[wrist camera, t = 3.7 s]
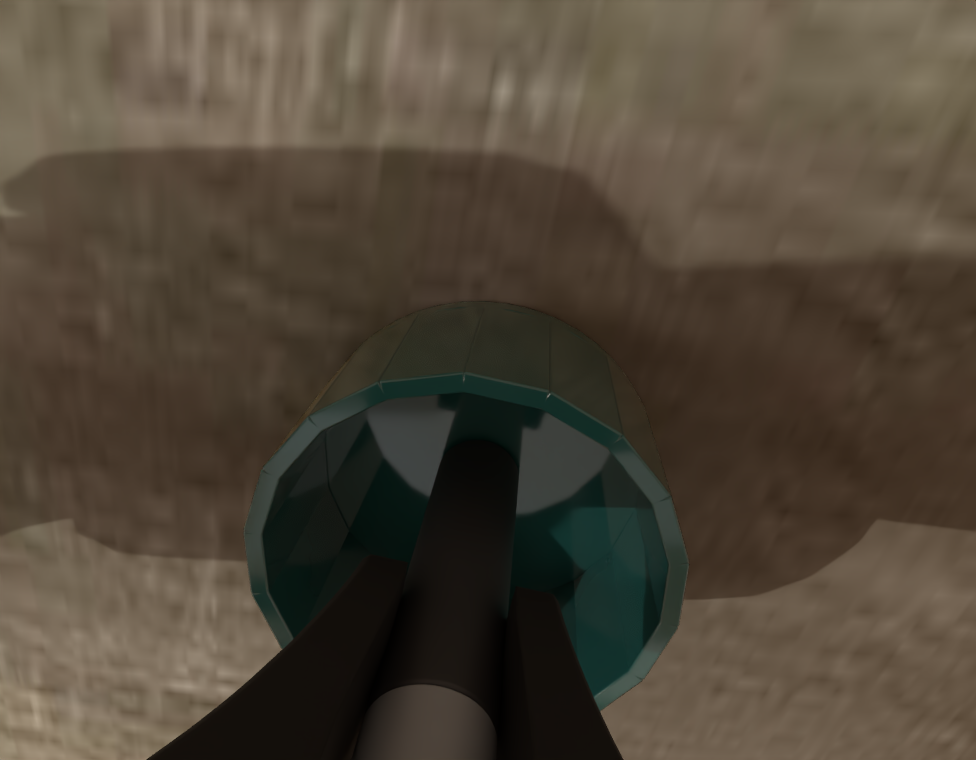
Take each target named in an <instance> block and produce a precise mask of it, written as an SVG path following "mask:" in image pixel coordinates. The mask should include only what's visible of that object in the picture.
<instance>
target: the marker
mask: <svg viewBox="0 0 976 760" xmlns="http://www.w3.org/2000/svg"><path fill="white" fill-rule="evenodd" d="M518 483H519V473H518V468H517V466H516V463H515V462H514V460H513V458H512V457H511V456H510V455H509V454H508V453H507V452H506V451H505V450H504V449H503V448H501V447H500V446H498V445H496V444H494V443H491V442H488V441H483V440H471V441H466V442H462V443H460V444H458V445H456V446H454V447H452V448H451V449H450V450H449V451H448V452H447V453H446V454H445V455H444V457H443V458H442V460H441V462H440V465H439V468H438V471H437V475H436V478H435V481H434V485H433V488H432V491H431V495H430V498H429V501H428V505H427V508H426V511H425V515H424V518H423V521H422V525H421V528H420V531H419V535H418V538H417V542H416V545H415V548H414V552H413V555H412V558H411V562H410V565H409V568H408V572H407V575H406V578H405V582H404V588H403V593H402V598H401V601H400V605H399V608H398V612H397V615H396V618H395V622H394V625H393V629H392V632H391V635H390V639H389V642H388V645H387V648H386V651H385V653H384V656H383V659H382V662H381V664H380V667H379V670H378V673H377V676H376V679H375V682H374V685H373V689H372V692H371V695H370V699H369V702H368V705H367V709H366V712H365V716H364V719H363V722H362V725H361V729H360V732H359V735H358V739H357V742H356V745H355V749H354V752H353V755H352V759H351V760H496V754H497V740H498V730H499V717H500V705H501V692H502V668H503V656H504V643H505V631H506V620H507V617H508V606H509V594H510V581H511V569H512V557H513V544H514V532H515V520H516V507H517V495H518Z"/></svg>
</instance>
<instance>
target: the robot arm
mask: <svg viewBox="0 0 976 760" xmlns="http://www.w3.org/2000/svg"><path fill="white" fill-rule="evenodd" d="M407 567H408V562H404V561H400V560H395V559H391V558H386V557H382V556H377V555H372V554H371V555H369V556H367V557H365V558H363V559H362V561H361V562H360V564H359V565H358V567H357V568H356V569H355V571H354V572H353V573H352V575H351V576H350V577H349V579H348V580H347V581H346V582H345V583H344V585H343V586H342V587H341V588H340V589H339V591H338V592H337V593H336V594H335V595H334V596H333V598H332V599H331V600H330V601H329V602H328V603H327V604H326V605H325V607H324V608H323V609H322V610H321V611H320V612H319V613H318V614H317V615H316V616H315V617H314V618H313V619H312V620H311V621H310V622H309V623H308V624H307V625H306V627H305V628H304V629H303V630H302V631H301V632H300V633H299V634H298V635H297V636H296V637H295V638H294V639H293V640H292V641H291V642H290V643H289V644H288V645H287V646H286V647H285V648H284V649H283V650H281V651H280V652H279V653H278V654H277V655H276V656H275V657H274V658H273V659H272V660H271V661H269V662H268V663H267V664H266V665H265V666H264V667H263V668H262V669H261V670H260V671H259V672H258V673H256V674H255V675H254V676H253V677H252V678H251V679H250V680H249V681H248V682H246V683H245V684H244V685H243V686H242V687H241V688H239V689H238V690H237V691H236V692H235V693H234V694H232V695H231V696H230V697H229V698H228V699H226V700H225V701H224V702H223V703H221V704H220V705H219V706H218V707H217V708H215V709H214V710H213V711H211V712H210V713H209V714H208V715H206V716H205V717H204V718H202V719H201V720H200V721H199V722H197V723H196V724H195V725H194V726H192V727H191V728H190V729H188V730H187V731H186V732H184V733H183V734H181V735H180V736H179V737H177V738H176V739H174V740H173V741H172V742H170V743H169V744H167V745H166V746H165V747H163V748H162V749H160V750H159V751H158V752H156V753H155V754H154V755H152V756H151V757H149V758H148V759H147V760H351V759H352V755H353V752H354V749H355V745H356V742H357V739H358V735H359V732H360V729H361V725H362V722H363V719H364V716H365V712H366V709H367V705H368V702H369V699H370V695H371V692H372V689H373V685H374V682H375V679H376V676H377V673H378V670H379V667H380V664H381V662H382V659H383V656H384V653H385V651H386V648H387V645H388V642H389V639H390V635H391V632H392V629H393V625H394V622H395V618H396V615H397V612H398V608H399V605H400V601H401V598H402V593H403V588H404V582H405V577H406V572H407ZM496 760H623V758H622V756H621V754H620V752H619V750H618V748H617V746H616V744H615V742H614V740H613V738H612V736H611V734H610V732H609V730H608V728H607V726H606V724H605V722H604V719H603V717H602V715H601V713H600V711H599V708H598V706H597V704H596V701H595V699H594V697H593V695H592V692H591V690H590V688H589V685H588V683H587V681H586V678H585V676H584V673H583V671H582V669H581V666H580V664H579V661H578V658H577V656H576V653H575V650H574V648H573V645H572V642H571V640H570V637H569V634H568V631H567V628H566V625H565V622H564V619H563V616H562V613H561V609H560V606H559V602H558V600H557V599H556V597H555V596H554V594H550V593H545V592H541V591H536V590H532V589H527V588H523V587H518V586H516V587H515V591H514V595H513V598H512V602H511V606H510V609H509V613H508V617H507V620H506V631H505V643H504V656H503V668H502V692H501V705H500V717H499V730H498V740H497V754H496Z"/></svg>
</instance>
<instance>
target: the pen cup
mask: <svg viewBox="0 0 976 760" xmlns="http://www.w3.org/2000/svg"><path fill="white" fill-rule="evenodd" d="M471 440H483V441H488V442H491V443H494V444H496V445H498V446H500V447H501V448H503V449H504V450H505V451H506V452H507V453H508V454H509V455H510V456H511V457H512V458H513V460H514V462H515V463H516V466H517V468H518V473H519V483H518V495H517V507H516V520H515V532H514V544H513V557H512V569H511V581H510V594H509V606H508V613H509V609H510V606H511V602H512V598H513V595H514V591H515V587H516V586H518V587H523V588H527V589H532V590H536V591H541V592H545V593H550V594H554V596H555V597H556V599H557V600H558V602H559V606H560V609H561V613H562V616H563V619H564V622H565V625H566V628H567V631H568V634H569V637H570V640H571V642H572V645H573V648H574V650H575V653H576V656H577V658H578V661H579V664H580V666H581V669H582V671H583V673H584V676H585V678H586V681H587V683H588V685H589V688H590V690H591V692H592V695H593V697H594V699H595V701H596V704H597V706H598V708H599V711H601V710H603V709H604V708H605V707H607V706H608V705H609V704H611V703H612V702H614V701H615V700H616V699H618V698H619V697H621V696H622V695H623V694H625V693H626V692H628V691H629V690H630V689H632V688H633V687H635V686H636V685H637V684H639V683H640V682H642V680H643V679H645V677H646V676H647V674H648V673H649V671H650V670H651V668H652V667H653V665H654V664H655V662H656V661H657V659H658V658H659V656H660V655H661V653H662V652H663V650H664V649H665V647H666V646H667V644H668V642H669V641H670V639H671V638H672V636H673V635H674V633H675V632H676V630H677V629H678V626H679V623H680V617H681V611H682V605H683V599H684V593H685V587H686V582H687V576H688V570H689V558H688V554H687V551H686V547H685V543H684V540H683V536H682V532H681V529H680V525H679V521H678V518H677V514H676V510H675V507H674V503H673V499H672V496H671V493H670V489H669V486H668V483H667V479H666V476H665V473H664V470H663V466H662V463H661V460H660V456H659V453H658V450H657V447H656V443H655V440H654V437H653V433H652V430H651V427H650V424H649V420H648V417H647V414H646V410H645V407H644V405H643V403H642V401H641V400H640V398H639V396H638V394H637V393H636V391H635V389H634V388H633V386H632V384H631V382H630V381H629V379H628V377H627V376H626V375H625V373H624V372H623V371H622V370H621V368H620V367H619V366H618V365H617V363H616V362H615V361H614V360H613V359H612V358H611V357H610V356H609V355H608V354H607V353H606V352H605V351H604V350H603V349H602V348H601V347H600V346H599V345H598V344H597V343H595V342H594V341H592V340H591V339H590V338H588V337H587V336H585V335H584V334H583V333H581V332H580V331H579V330H577V329H575V328H573V327H572V326H570V325H568V324H566V323H564V322H562V321H560V320H558V319H557V318H554V317H551V316H549V315H546V314H544V313H541V312H538V311H536V310H533V309H529V308H524V307H520V306H516V305H512V304H505V303H496V302H487V301H480V302H457V303H451V304H444V305H438V306H434V307H431V308H427V309H424V310H420V311H417V312H414V313H412V314H410V315H407V316H405V317H403V318H400V319H398V320H396V321H394V322H393V323H391V324H389V325H388V326H386V327H384V328H383V329H381V330H379V331H378V332H376V333H375V334H374V335H373V336H371V337H370V338H369V339H368V340H366V341H365V342H364V343H362V344H361V345H360V347H359V348H358V349H357V350H356V351H355V352H354V353H353V354H352V355H351V356H350V357H349V359H348V360H347V361H346V362H345V363H344V365H343V366H342V367H341V368H340V370H339V371H338V372H337V373H336V374H335V375H334V376H333V378H332V379H331V380H330V381H329V382H328V383H327V385H326V386H325V387H324V388H323V390H322V391H321V392H320V394H319V395H318V396H317V397H316V399H315V400H314V401H313V403H312V404H311V405H310V407H309V408H308V409H307V410H306V412H305V413H304V414H303V416H302V417H301V418H300V419H299V421H298V422H297V423H296V425H295V426H294V427H293V429H292V430H291V431H290V432H289V434H288V435H287V436H286V438H285V439H284V440H283V441H282V443H281V444H280V445H279V447H278V448H277V449H276V450H275V452H274V453H273V454H272V456H271V457H270V458H269V460H268V461H267V462H266V463H265V465H264V466H263V468H262V470H261V472H260V475H259V479H258V482H257V485H256V489H255V492H254V495H253V499H252V502H251V505H250V509H249V512H248V515H247V519H246V522H245V525H244V532H243V535H244V542H245V550H246V558H247V566H248V573H249V581H250V589H251V593H252V596H253V598H254V600H255V602H256V603H257V605H258V607H259V609H260V611H261V613H262V614H263V616H264V618H265V620H266V622H267V623H268V625H269V627H270V629H271V631H272V632H273V634H274V636H275V638H276V640H277V642H278V643H279V645H280V647H281V648H282V649H284V648H285V647H286V646H287V645H288V644H289V643H290V642H291V641H292V640H293V639H294V638H295V637H296V636H297V635H298V634H299V633H300V632H301V631H302V630H303V629H304V628H305V627H306V625H307V624H308V623H309V622H310V621H311V620H312V619H313V618H314V617H315V616H316V615H317V614H318V613H319V612H320V611H321V610H322V609H323V608H324V607H325V605H326V604H327V603H328V602H329V601H330V600H331V599H332V598H333V596H334V595H335V594H336V593H337V592H338V591H339V589H340V588H341V587H342V586H343V585H344V583H345V582H346V581H347V580H348V579H349V577H350V576H351V575H352V573H353V572H354V571H355V569H356V568H357V567H358V565H359V564H360V562H361V561H362V559H363V558H365V557H367V556H369V555H371V554H372V555H377V556H382V557H386V558H391V559H395V560H400V561H404V562H408V567H407V572H408V568H409V565H410V562H411V558H412V555H413V552H414V548H415V545H416V542H417V538H418V535H419V531H420V528H421V525H422V521H423V518H424V515H425V511H426V508H427V505H428V501H429V498H430V495H431V491H432V488H433V485H434V481H435V478H436V475H437V471H438V468H439V465H440V462H441V460H442V458H443V457H444V455H445V454H446V453H447V452H448V451H449V450H450V449H451V448H452V447H454V446H456V445H458V444H460V443H462V442H466V441H471ZM407 572H406V575H407ZM405 578H406V577H405Z"/></svg>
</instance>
